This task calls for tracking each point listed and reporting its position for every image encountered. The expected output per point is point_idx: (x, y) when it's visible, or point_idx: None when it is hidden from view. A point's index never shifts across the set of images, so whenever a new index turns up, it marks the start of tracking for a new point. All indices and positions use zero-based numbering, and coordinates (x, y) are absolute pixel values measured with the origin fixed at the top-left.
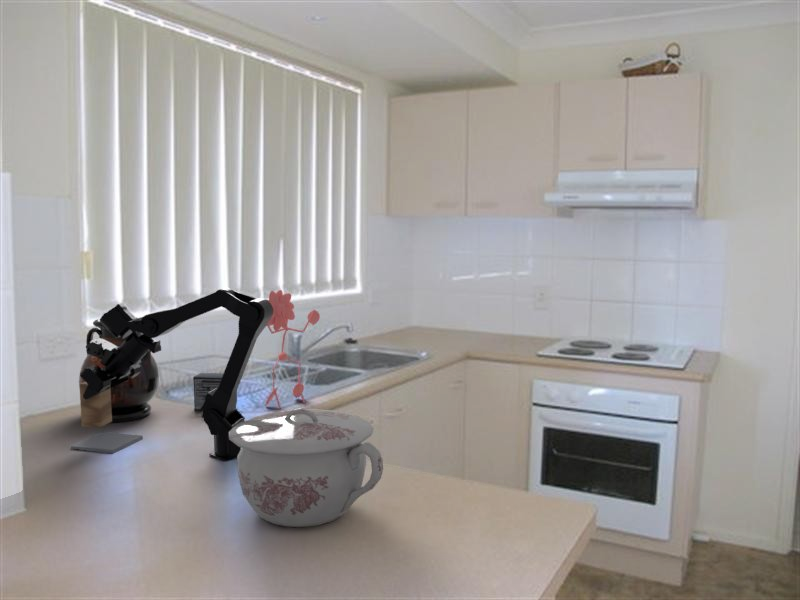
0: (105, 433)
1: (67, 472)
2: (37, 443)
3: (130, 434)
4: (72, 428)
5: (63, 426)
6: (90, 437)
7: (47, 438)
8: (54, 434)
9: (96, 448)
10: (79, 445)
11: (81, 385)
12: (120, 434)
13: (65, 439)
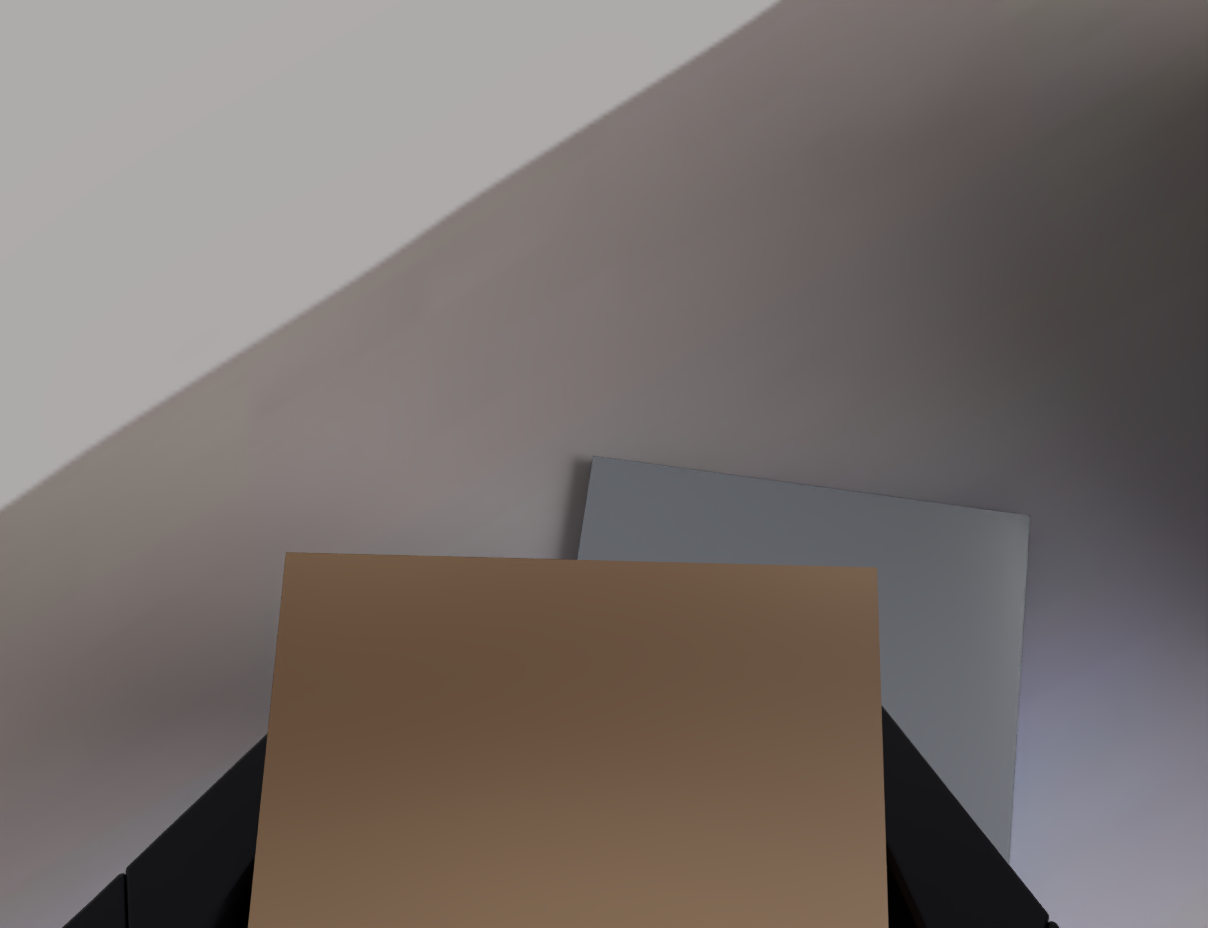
0: (987, 571)
1: (65, 749)
2: (704, 120)
3: (1006, 844)
4: (1140, 153)
5: (1176, 49)
6: (848, 495)
7: (837, 118)
8: (948, 108)
9: None
10: (616, 523)
11: (300, 610)
12: (987, 738)
13: (836, 271)
